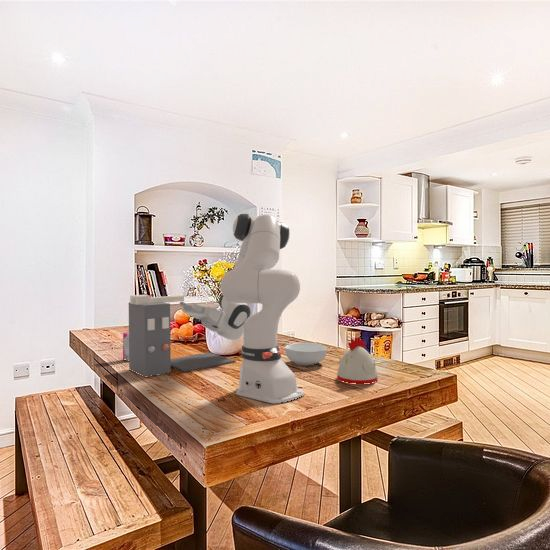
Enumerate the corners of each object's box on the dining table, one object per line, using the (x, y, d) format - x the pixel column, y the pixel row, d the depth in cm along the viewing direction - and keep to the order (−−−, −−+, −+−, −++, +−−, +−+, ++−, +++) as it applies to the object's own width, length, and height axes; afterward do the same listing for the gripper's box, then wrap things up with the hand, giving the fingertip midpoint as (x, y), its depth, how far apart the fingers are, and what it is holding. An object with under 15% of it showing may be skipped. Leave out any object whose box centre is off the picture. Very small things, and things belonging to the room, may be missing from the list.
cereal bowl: (276, 363, 170) (276, 346, 170) (302, 357, 183) (302, 341, 182) (309, 371, 159) (309, 352, 159) (334, 363, 171) (334, 346, 171)
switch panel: (171, 373, 156) (171, 303, 155) (146, 378, 149) (145, 305, 148) (153, 365, 167) (153, 300, 166) (129, 370, 160) (128, 302, 159)
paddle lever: (186, 301, 165) (185, 293, 165) (137, 304, 151) (137, 296, 151) (178, 300, 169) (178, 292, 169) (130, 303, 156) (130, 295, 156)
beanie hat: (329, 378, 149) (329, 336, 149) (355, 372, 158) (356, 332, 157) (358, 387, 138) (358, 342, 138) (385, 380, 146) (385, 338, 146)
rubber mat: (235, 362, 173) (235, 360, 173) (184, 372, 157) (184, 370, 157) (209, 354, 188) (209, 352, 188) (159, 362, 172) (159, 360, 172)
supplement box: (142, 359, 178) (141, 332, 177) (129, 362, 173) (128, 334, 173) (135, 357, 182) (135, 331, 181) (122, 359, 177) (122, 333, 177)
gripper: (201, 309, 185) (177, 295, 177) (228, 313, 170) (203, 298, 162) (195, 322, 183) (170, 308, 175) (222, 328, 168) (196, 313, 160)
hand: (186, 303), depth 168 cm, fingers open, 8 cm apart
